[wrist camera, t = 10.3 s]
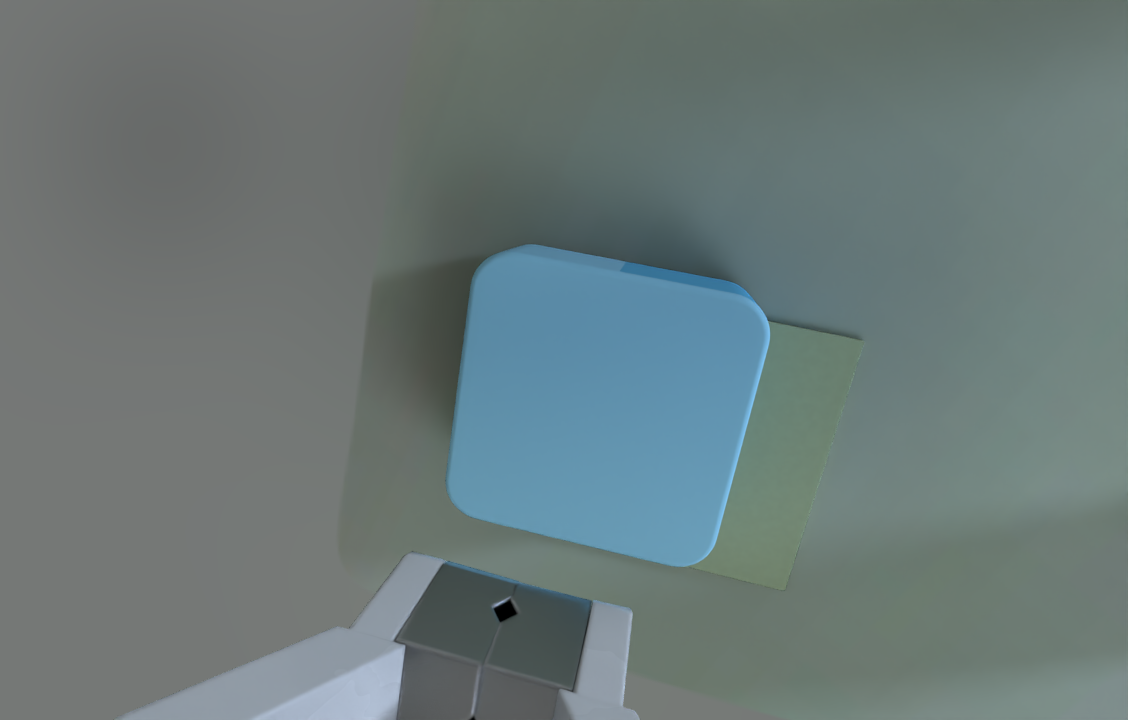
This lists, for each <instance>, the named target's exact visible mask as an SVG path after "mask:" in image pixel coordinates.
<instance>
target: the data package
mask: <svg viewBox="0 0 1128 720" xmlns="http://www.w3.org/2000/svg"><path fill="white" fill-rule="evenodd" d="M769 341H770V328H769V323H768V321H767V318H766V316H765V314H764V312H763V311H762V310H761V308H760V307H759V306H758V305H757V303H756V302H755V301H754V300H753V299H752V297H751V296H750V295H749V294H748V293H747V292H746V291H745V290H744V289H743V288H742V287H741V286H739V285H737V284H735V283H733V282H729V281H725V280H720V279H715V278H710V277H704V276H699V275H694V274H688V273H683V272H678V271H673V270H667V269H662V268H657V267H652V266H646V265H641V264H636V263H631V262H625V261H620V260H615V259H610V258H604V257H599V256H594V255H589V254H583V253H578V252H573V251H567V250H562V249H557V248H552V247H546V246H541V245H535V244H527V245H522V246H518V247H515V248H512V249H509V250H506V251H502V252H499V253H496V254H494V255H492V256H490V257H488V258H487V259H486V260H484V261H483V262H482V263H481V264H480V265H479V267H478V268H477V270H476V271H475V273H474V275H473V278H472V281H471V287H470V294H469V302H468V310H467V317H466V325H465V333H464V340H463V348H462V356H461V363H460V371H459V379H458V386H457V394H456V402H455V409H454V417H453V424H452V432H451V440H450V447H449V455H448V463H447V470H446V480H445V482H446V489H447V493H448V495H449V497H450V499H451V501H452V502H453V504H454V505H455V506H456V507H457V508H458V509H459V510H460V511H461V512H463V513H464V514H466V515H468V516H470V517H472V518H475V519H479V520H483V521H487V522H491V523H495V524H499V525H504V526H508V527H512V528H516V529H520V530H524V531H528V532H532V533H536V534H541V535H545V536H549V537H553V538H557V539H561V540H565V541H569V542H573V543H578V544H582V545H586V546H590V547H594V548H598V549H602V550H606V551H610V552H615V553H619V554H623V555H627V556H631V557H635V558H639V559H643V560H647V561H652V562H656V563H660V564H664V565H668V566H673V567H684V566H689V565H693V564H695V563H698V562H699V561H701V560H703V559H704V558H705V557H706V556H707V555H708V554H709V553H710V552H711V551H712V549H713V547H714V546H715V543H716V540H717V536H718V533H719V529H720V525H721V521H722V518H723V514H724V510H725V507H726V503H727V499H728V495H729V492H730V488H731V484H732V480H733V477H734V473H735V469H736V465H737V462H738V458H739V454H740V451H741V447H742V443H743V439H744V436H745V432H746V428H747V424H748V421H749V417H750V413H751V409H752V406H753V402H754V398H755V395H756V391H757V387H758V383H759V380H760V376H761V372H762V368H763V365H764V361H765V357H766V354H767V350H768V346H769Z"/></svg>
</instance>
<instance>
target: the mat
mask: <svg viewBox="0 0 1128 720" xmlns="http://www.w3.org/2000/svg"><path fill="white" fill-rule="evenodd" d="M768 323H769V328H770V341H769V346H768V350H767V354H766V357H765V361H764V365H763V368H762V372H761V376H760V380H759V383H758V387H757V391H756V395H755V398H754V402H753V406H752V409H751V413H750V417H749V421H748V424H747V428H746V432H745V436H744V439H743V443H742V447H741V451H740V454H739V458H738V462H737V465H736V469H735V473H734V477H733V480H732V484H731V488H730V492H729V495H728V499H727V503H726V507H725V510H724V514H723V518H722V521H721V525H720V529H719V533H718V536H717V540H716V543H715V546H714V547H713V549H712V551H711V552H710V553H709V554H708V555H707V556H706V557H705V558H704V559H703V560H701V561H699V562H698V563H695V564H693V565H689V566H685V567H689V568H693V569H697V570H701V571H705V572H709V573H713V574H717V575H721V576H725V577H729V578H733V579H737V580H741V581H745V582H749V583H753V584H757V585H761V586H765V587H769V588H773V589H777V590H781V591H785V589H786V586H787V583H788V580H789V577H790V573H791V570H792V567H793V564H794V561H795V558H796V555H797V552H798V548H799V545H800V542H801V539H802V536H803V533H804V530H805V527H806V523H807V520H808V517H809V514H810V511H811V508H812V505H813V501H814V498H815V495H816V492H817V489H818V486H819V483H820V480H821V476H822V473H823V470H824V467H825V464H826V461H827V458H828V455H829V451H830V448H831V445H832V442H833V439H834V436H835V433H836V430H837V426H838V423H839V420H840V417H841V414H842V411H843V408H844V404H845V401H846V398H847V395H848V392H849V389H850V386H851V383H852V379H853V376H854V373H855V370H856V367H857V364H858V361H859V358H860V354H861V351H862V348H863V345H864V341H863V340H859V339H854V338H849V337H844V336H839V335H834V334H829V333H825V332H820V331H815V330H810V329H805V328H800V327H795V326H790V325H785V324H780V323H776V322H771V321H768Z"/></svg>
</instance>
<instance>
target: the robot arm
mask: <svg viewBox="0 0 1128 720" xmlns="http://www.w3.org/2000/svg"><path fill="white" fill-rule="evenodd" d="M591 603H592V601H591V600H587V599H583V598H579V597H575V596H571V595H567V594H563V593H560V592H556V591H552V590H548V589H544V588H540V587H536V586H532V585H528V584H525V583H521V582H519V581H516V580H513V579H509V578H506V577H502V576H499V575H495V574H492V573H489V572H485V571H482V570H478V569H475V568H471V567H468V566H464V565H461V564H457V563H454V562H450V561H447V562H446V561H445V560H443V559H439V558H436V557H432V556H428V555H424V554H421V553H417V552H413V551H412V552H410V553H408V554H406V555H404V556H403V558H402V559H401V560H400V562H399V563H398V564H397V565H396V567H395V568H394V569H393V571H392V572H391V573H390V575H389V576H388V577H387V579H386V580H385V581H384V583H383V584H382V585H381V587H380V588H379V589H378V590H377V592H376V593H375V594H374V596H373V597H372V599H371V600H370V601H369V602H368V604H367V605H366V606H365V608H364V609H363V610H362V612H361V613H360V614H359V616H358V617H357V618H356V619H355V621H354V622H353V623H352V625H351V626H350V627H349V629H347V628H343V627H339V626H336V627H333V628H331V629H329V630H326V631H324V632H321V633H319V634H316V635H314V636H312V637H309V638H307V639H304V640H302V641H299V642H297V643H295V644H292V645H290V646H287V647H285V648H282V649H280V650H278V651H275V652H273V653H270V654H268V655H265V656H263V657H261V658H258V659H256V660H253V661H251V662H249V663H246V664H244V665H241V666H239V667H237V668H234V669H232V670H229V671H227V672H224V673H222V674H219V675H217V676H215V677H212V678H210V679H207V680H205V681H203V682H200V683H198V684H195V685H193V686H191V687H188V688H186V689H183V690H181V691H178V692H176V693H173V694H171V695H169V696H166V697H164V698H161V699H159V700H157V701H154V702H152V703H149V704H147V705H144V706H142V707H140V708H137V709H135V710H132V711H130V712H127V713H125V714H123V715H120V716H118V717H116V718H115V719H114V720H640V718H639V716H638V715H637V713H636V711H634V710H632V709H628V708H625V707H623V700H624V699H623V698H624V690H625V681H626V672H627V663H628V654H629V644H630V635H631V626H632V617H633V613H632V611H631V608H627V607H622V606H618V605H614V604H609V603H605V602H601V601H596V600H593V603H592V606H591ZM590 608H591V609H590ZM589 613H590V614H589Z"/></svg>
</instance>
